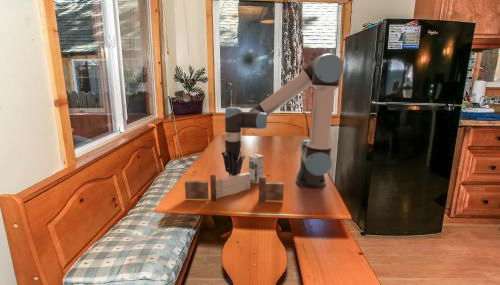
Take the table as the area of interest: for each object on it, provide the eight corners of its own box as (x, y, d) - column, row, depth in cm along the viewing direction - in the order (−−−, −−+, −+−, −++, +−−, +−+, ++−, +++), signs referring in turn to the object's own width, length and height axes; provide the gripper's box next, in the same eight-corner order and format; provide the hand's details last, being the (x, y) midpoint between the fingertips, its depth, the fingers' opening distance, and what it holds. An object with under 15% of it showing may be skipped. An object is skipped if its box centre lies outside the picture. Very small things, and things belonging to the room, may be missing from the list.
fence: (282, 200, 133) (283, 175, 130) (283, 203, 130) (284, 178, 127) (187, 198, 134) (185, 173, 131) (185, 201, 131) (184, 176, 128)
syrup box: (248, 181, 155) (248, 155, 152) (255, 178, 159) (256, 153, 156) (255, 184, 151) (256, 157, 148) (263, 181, 155) (264, 155, 152)
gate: (218, 197, 132) (218, 181, 131) (216, 196, 134) (215, 180, 132) (250, 188, 143) (250, 173, 141) (247, 187, 144) (247, 172, 143)
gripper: (217, 139, 138) (218, 185, 144) (238, 143, 130) (238, 192, 136) (228, 136, 144) (228, 181, 150) (248, 140, 136) (247, 187, 142)
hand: (232, 186), depth 143 cm, fingers closed
